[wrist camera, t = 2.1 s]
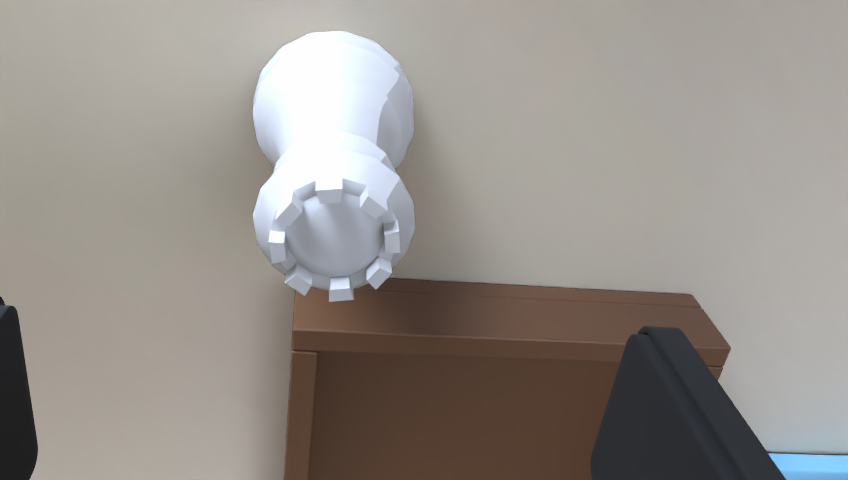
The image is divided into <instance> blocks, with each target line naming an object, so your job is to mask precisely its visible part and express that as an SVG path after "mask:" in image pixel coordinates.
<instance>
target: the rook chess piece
mask: <svg viewBox="0 0 848 480" xmlns="http://www.w3.org/2000/svg"><path fill="white" fill-rule="evenodd" d="M253 106H254V109H253V119H254V126H255V132H256V138H257V143H258V145H259V147H260V148H261V150H262V152H263V153H264V155H265V156H266V158H267V160H268V161H269V163H270V164H271V166H272V167H273V169H274V172H273V175H272V176H271V177H270V178H269V179H268V181H267V182H266V183H265V184H264V185H263V186H262V187H261V189H260V192H259V196H258V199H257V203H256V206H255V210H254V213H253V221H254V227H255V233H256V239H257V244H258V245H259V247H260V248H261V250H262V251H263V253H264V254H265V256H266V257H267V258H268V260H269V261H270V263H271V264H272V266H273V267H274V268H275V269H277V270H278V271H280V272H281V273H283V274H284V275H286V278H285V283H286V284H287V285H289V286H290V287H292V288H293V289H295V290H296V291H298V292H299V293H301V294H302V295H304V296H305V295H306V294H307V292H308V291H309V289H310V287H314V288H318V289H323V290H327V291H329V302H334V301H345V300H354V294H353V288H359V287H361V286H363V285H365V284H368V283H370V284H371V285H372V286H373V287H374V289H375V290H376V289H377V288H378V287H379V286H380V285H381V284H382V283H383V282H384V281H385V280H386V279H387V278H388V277H389V276H390V275H391V274H392V268H393V267H394V266H395V265H396V264H397V263H398V262H399V261H400V260H401V259H402V258H403V257H404V256H405V254H406V251H407V249H408V247H409V244H410V242H411V239H412V237H413V234H414V232H415V219H414V203H413V201H412V199H411V197H410V195H409V193H408V191H407V189H406V188H405V186H404V184H403V182H402V180H401V178H400V177H399V176H398V175H397V173H396V171H395V169H396V168H397V167H398V166H399V165H400V164H401V163H402V161H403V159H404V157H405V154H406V151H407V149H408V146H409V144H410V141H411V138H412V136H413V133H414V114H413V92H412V89H411V86H410V84H409V82H408V80H407V78H406V76H405V74H404V72H403V70H402V68H401V66H400V64H399V62H398V61H396V60H395V59H394V58H393V57H392V56H391V55H390V54H388V53H387V52H386V51H385V50H384V49H383V48H382V47H380V46H379V45H378V44H377V43H376V42H375V41H372V40H369V39H366V38H363V37H360V36H357V35H354V34H351V33H348V32H345V31H333V32H317V33H309V34H307V35H305V36H303V37H301V38H299V39H297V40H295V41H293V42H291V43H289V44H287V45H285V46H283V47H281V48H280V49H279V51H278V52H277V53H276V54H275V55H274V57H273V58H272V59H271V60H270V61H269V63H268V64H267V65H266V66H265V67H264V69H263V70H262V71H261V73H260V77H259V81H258V84H257V88H256V92H255V95H254V99H253Z"/></svg>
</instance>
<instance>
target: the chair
mask: <svg viewBox="0 0 848 480" xmlns="http://www.w3.org/2000/svg"><path fill="white" fill-rule="evenodd" d="M768 454H769V456H770V457H771V458H772V460H773V461H774V463H775V464H776V466H777V467H778V468H779V470H780V471H781V473H782V474H783V476H784V477H785V479H786V480H848V456H847V455H805V454H774V453H768Z"/></svg>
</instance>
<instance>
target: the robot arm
mask: <svg viewBox="0 0 848 480" xmlns="http://www.w3.org/2000/svg"><path fill="white" fill-rule="evenodd" d="M37 453H38V445H37V437H36V431H35V424H34V418H33V411H32V404H31V398H30V391H29V385H28V378H27V371H26V365H25V358H24V352H23V345H22V339H21V332H20V325H19V319H18V314H17V310H16V308H15V307H13V306H5V304H4V301H3V299H2V298H1V297H0V480H29V479H30V477H31V475H32V473H33V470H34V468H35V464H36V460H37ZM590 470H591V476H592V479H593V480H786V479H785V477H784V476H783V474H782V473H781V471H780V470H779V468H778V467H777V466H776V464H775V463H774V461H773V460H772V458H771V457H770V456H769V454H768V453H767V451H766V450H765V448H764V447H763V446H762V444H761V443H760V441H759V440H758V438H757V437H756V436H755V434H754V433H753V431H752V430H751V428H750V427H749V426H748V424H747V423H746V421H745V420H744V418H743V417H742V416H741V414H740V413H739V411H738V410H737V408H736V407H735V405H734V404H733V403H732V401H731V400H730V398H729V397H728V395H727V394H726V393H725V391H724V390H723V388H722V387H721V385H720V384H719V383H718V381H717V380H716V378H715V377H714V375H713V374H712V373H711V371H710V370H709V368H708V367H707V365H706V364H705V363H704V361H703V360H702V358H701V357H700V355H699V354H698V352H697V351H696V350H695V348H694V347H693V345H692V344H691V342H690V341H689V340H688V338H687V337H686V335H685V334H684V332H683V331H682V330H681V329H679V328H676V327H657V326H644V327H642V328H641V329H640V330H639V331H638V334H633V335H630V337H629V338H628V340H627V342H626V346H625V349H624V352H623V355H622V358H621V362H620V365H619V368H618V371H617V374H616V377H615V381H614V384H613V387H612V390H611V393H610V397H609V400H608V403H607V406H606V409H605V413H604V416H603V419H602V422H601V425H600V429H599V432H598V435H597V438H596V441H595V445H594V448H593V451H592V454H591V460H590Z"/></svg>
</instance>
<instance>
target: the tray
mask: <svg viewBox="0 0 848 480" xmlns="http://www.w3.org/2000/svg"><path fill="white" fill-rule="evenodd" d="M353 294H354V300H345V301H334V302H329V291H327V290H323V289H318V288H314V287H310V289H309V291H308V292H307V294H306V295H305V296H304V295H302V294H301V293H299V292H298V291H296V290H295V302H294V315H293V327H292V344H291V363H290V381H289V399H288V418H287V436H286V454H285V473H284V480H593V479H592V476H591V470H590V460H591V454H592V451H593V448H594V445H595V441H596V438H597V435H598V432H599V429H600V425H601V422H602V419H603V416H604V413H605V409H606V406H607V403H608V400H609V397H610V393H611V390H612V387H613V384H614V381H615V377H616V374H617V371H618V368H619V365H620V362H621V358H622V355H623V352H624V349H625V346H626V342H627V340H628V338H629V337H630V335H633V334H638V331H639V330H640V329H641V328H642V327H644V326H657V327H676V328H679V329H681V330H682V331H683V332H684V334H685V335H686V337H687V338H688V340H689V341H690V342H691V344H692V345H693V347H694V348H695V350H696V351H697V352H698V354H699V355H700V357H701V358H702V360H703V361H704V363H705V364H706V365H707V367H708V368H709V370H710V371H711V373H712V374H713V375H714V377H715V378H716V380H717V381H718V379H719V377H720V374H721V372H722V369H723V367H722V366H724V364H725V361H726V359H727V357H728V354H729V352H730V349H731V347H730V346H729V344H728V343H727V341H726V340H725V339H724V337H723V336H722V335H721V333H720V332H719V331H718V329H717V328H716V327H715V325H714V324H713V322H712V321H711V320H710V318H709V317H708V316H707V314H706V313H705V312H704V310H703V309H701V306H700V305H699V303H698V302H697V301H696V299H695V298H694V297H693V296H692V295H686V294H667V293H648V292H630V291H611V290H592V289H574V288H555V287H536V286H518V285H499V284H480V283H462V282H443V281H424V280H406V279H386V280H385V281H384V282H383V283H382V284H381V285H380V286H379V287H378V288H377V289H376V290H375V289H374V287H373V286H372V285H371V284H370V283H368V284H365V285H363V286H361V287H359V288H353Z"/></svg>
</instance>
